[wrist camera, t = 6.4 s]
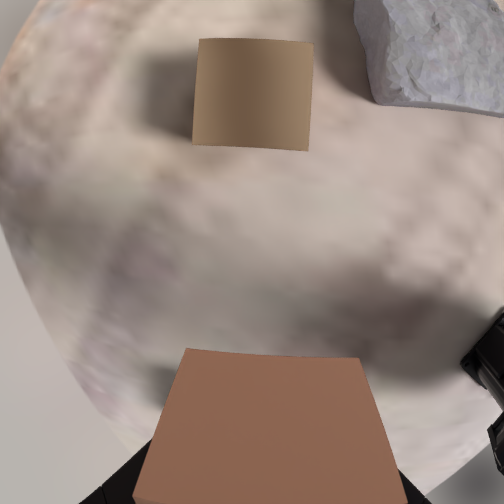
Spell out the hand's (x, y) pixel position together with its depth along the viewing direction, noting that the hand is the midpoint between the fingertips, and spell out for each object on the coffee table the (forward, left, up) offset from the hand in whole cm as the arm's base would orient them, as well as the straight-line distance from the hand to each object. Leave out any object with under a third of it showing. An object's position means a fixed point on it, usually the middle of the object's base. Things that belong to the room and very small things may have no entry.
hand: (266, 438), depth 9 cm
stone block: (+1, -20, -13) cm, 24 cm away
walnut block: (+7, -8, -13) cm, 16 cm away
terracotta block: (0, 0, -1) cm, 1 cm away
